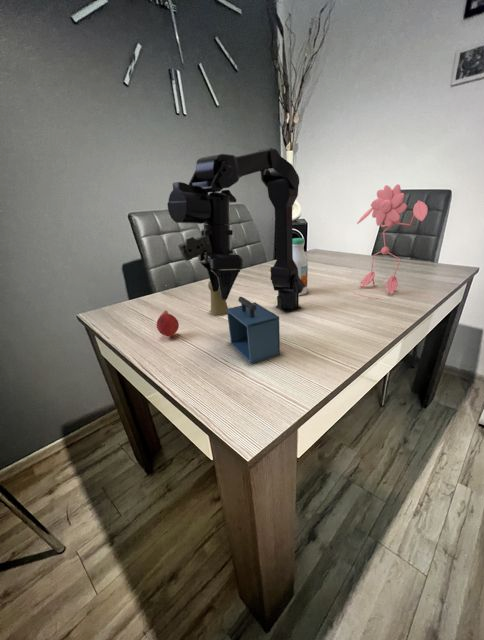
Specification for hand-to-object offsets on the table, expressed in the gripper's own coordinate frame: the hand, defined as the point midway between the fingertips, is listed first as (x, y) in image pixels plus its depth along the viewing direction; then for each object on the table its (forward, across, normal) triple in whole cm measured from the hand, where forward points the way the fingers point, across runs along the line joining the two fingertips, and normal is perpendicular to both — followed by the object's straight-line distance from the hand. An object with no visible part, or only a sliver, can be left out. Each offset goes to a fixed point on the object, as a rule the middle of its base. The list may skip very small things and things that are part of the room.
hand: (219, 295), depth 66 cm
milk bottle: (+8, -30, +38) cm, 49 cm away
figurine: (+6, -16, +63) cm, 65 cm away
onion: (+14, -13, -12) cm, 23 cm away
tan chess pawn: (+12, -25, +6) cm, 28 cm away
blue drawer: (+6, +5, +11) cm, 13 cm away
